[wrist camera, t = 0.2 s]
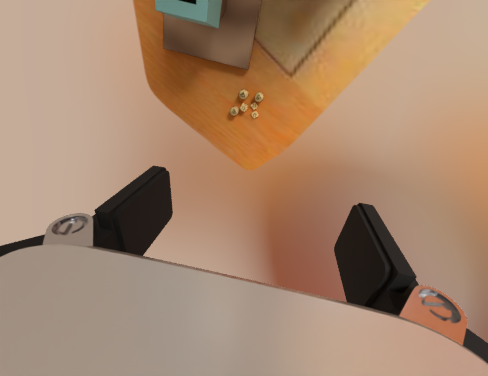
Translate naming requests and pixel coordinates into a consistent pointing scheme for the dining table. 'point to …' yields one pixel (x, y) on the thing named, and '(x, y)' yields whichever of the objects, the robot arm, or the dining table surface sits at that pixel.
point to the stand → (216, 34)
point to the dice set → (243, 95)
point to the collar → (192, 11)
